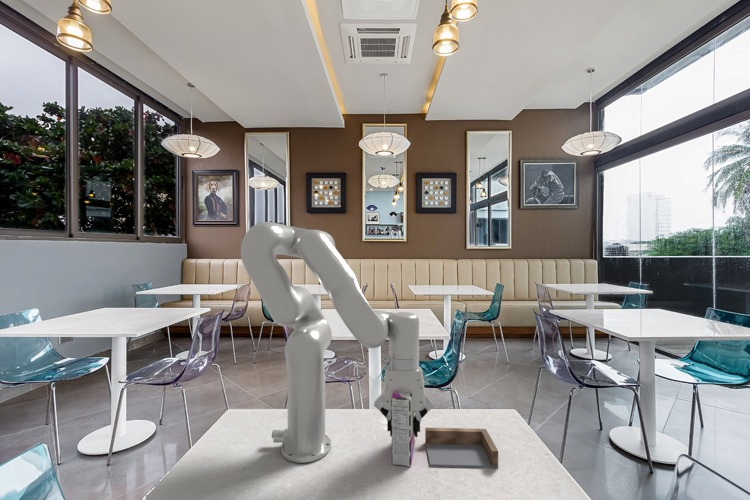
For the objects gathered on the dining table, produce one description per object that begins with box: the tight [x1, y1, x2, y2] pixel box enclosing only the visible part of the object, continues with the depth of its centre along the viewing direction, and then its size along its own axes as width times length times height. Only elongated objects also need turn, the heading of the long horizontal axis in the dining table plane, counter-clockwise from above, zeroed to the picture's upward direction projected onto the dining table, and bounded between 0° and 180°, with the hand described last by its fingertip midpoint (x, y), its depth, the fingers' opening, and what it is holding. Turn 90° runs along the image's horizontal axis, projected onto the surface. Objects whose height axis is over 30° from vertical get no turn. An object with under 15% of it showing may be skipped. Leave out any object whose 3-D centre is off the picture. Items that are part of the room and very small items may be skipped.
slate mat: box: [425, 444, 499, 469], centre depth 86 cm, size 16×10×1 cm, turn 88°
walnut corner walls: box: [424, 427, 499, 467], centre depth 86 cm, size 16×10×4 cm, turn 88°
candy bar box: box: [391, 393, 416, 468], centre depth 86 cm, size 11×5×16 cm, turn 169°
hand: (403, 433), depth 86 cm, fingers closed on candy bar box, 5 cm apart
